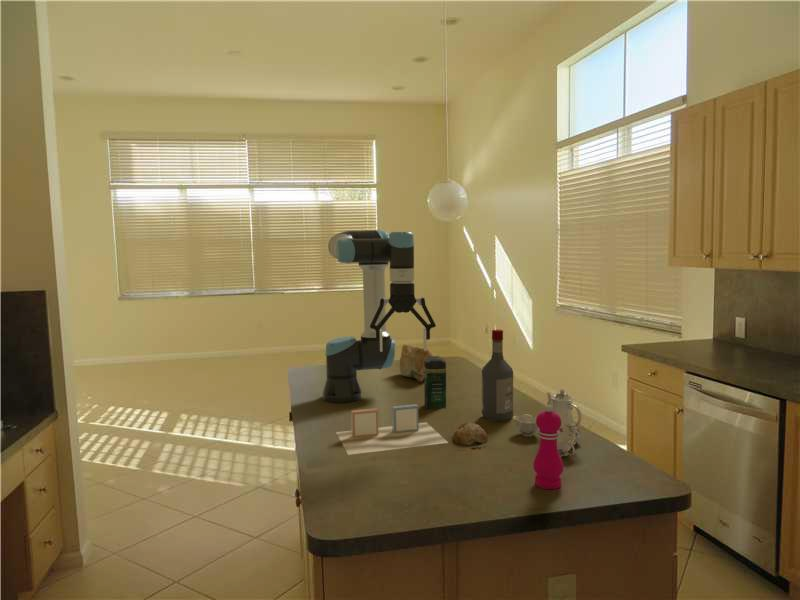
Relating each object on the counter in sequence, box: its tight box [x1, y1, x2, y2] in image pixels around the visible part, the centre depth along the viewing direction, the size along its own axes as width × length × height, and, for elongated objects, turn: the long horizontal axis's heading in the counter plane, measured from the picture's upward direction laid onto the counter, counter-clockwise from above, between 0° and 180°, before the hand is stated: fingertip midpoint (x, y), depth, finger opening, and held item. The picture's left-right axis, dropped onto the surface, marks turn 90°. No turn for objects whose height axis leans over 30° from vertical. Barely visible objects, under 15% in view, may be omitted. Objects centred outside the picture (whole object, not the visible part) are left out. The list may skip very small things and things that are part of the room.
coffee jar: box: [423, 355, 447, 410], centre depth 207 cm, size 10×8×19 cm
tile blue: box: [391, 403, 419, 433], centre depth 179 cm, size 2×8×8 cm, turn 106°
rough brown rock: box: [399, 344, 434, 383], centre depth 253 cm, size 23×17×15 cm
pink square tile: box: [350, 407, 379, 438], centre depth 175 cm, size 2×8×8 cm, turn 106°
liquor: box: [481, 329, 514, 422], centre depth 194 cm, size 9×9×30 cm
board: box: [335, 422, 449, 456], centre depth 174 cm, size 20×30×1 cm, turn 106°
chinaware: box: [513, 388, 583, 458], centre depth 169 cm, size 28×17×17 cm, turn 23°
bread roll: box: [452, 422, 488, 450], centre depth 171 cm, size 10×10×8 cm
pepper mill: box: [532, 404, 564, 490], centre depth 141 cm, size 7×7×20 cm
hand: (403, 350), depth 177 cm, fingers open, 13 cm apart
